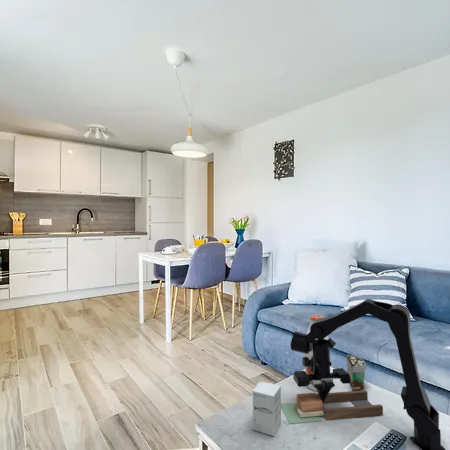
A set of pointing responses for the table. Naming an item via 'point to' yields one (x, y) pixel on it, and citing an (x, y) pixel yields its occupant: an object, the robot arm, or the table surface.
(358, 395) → the channel
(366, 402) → the trap pit
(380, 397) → the table surface
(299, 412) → the block
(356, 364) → the food container
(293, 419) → the pad
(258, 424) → the supplement box
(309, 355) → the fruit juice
